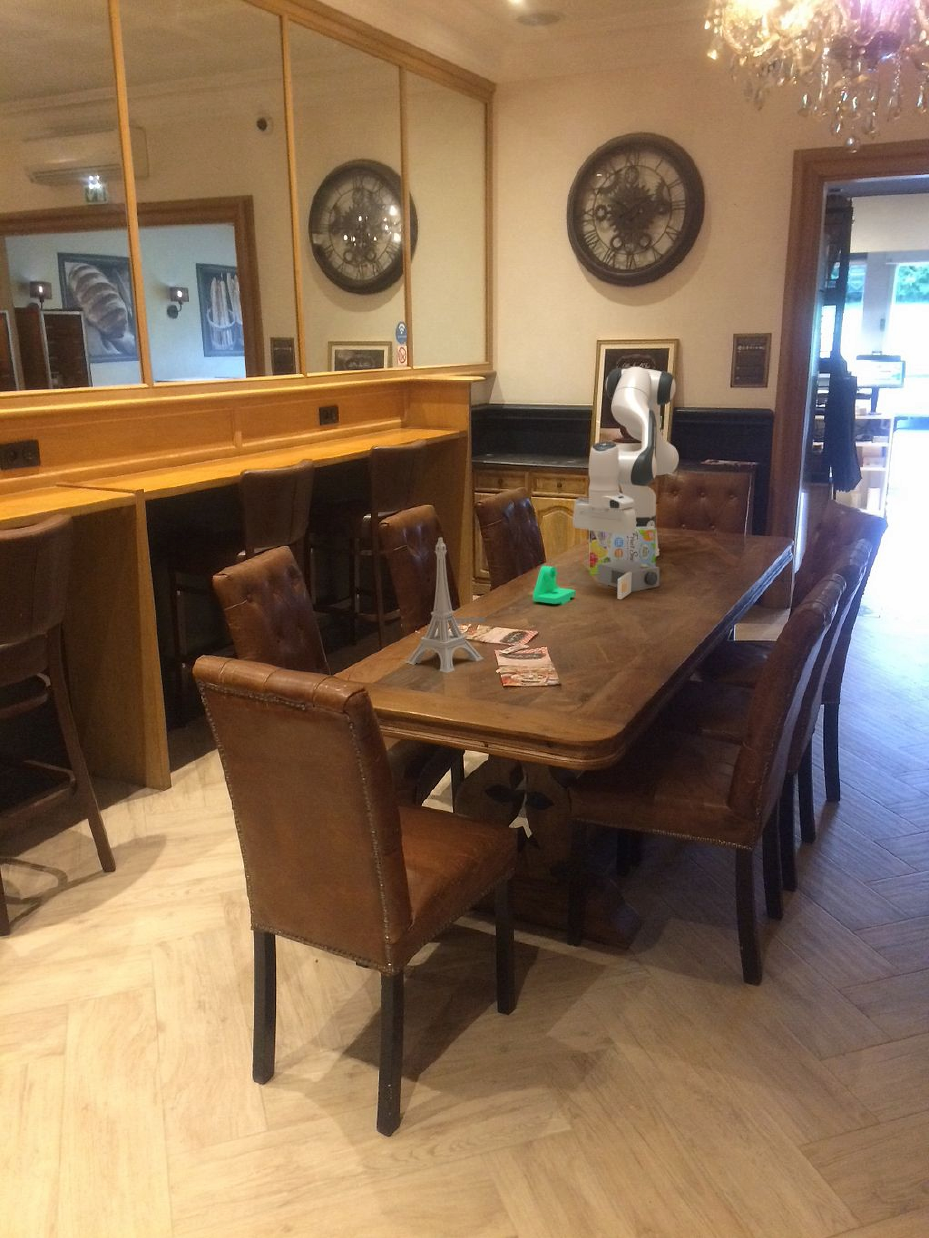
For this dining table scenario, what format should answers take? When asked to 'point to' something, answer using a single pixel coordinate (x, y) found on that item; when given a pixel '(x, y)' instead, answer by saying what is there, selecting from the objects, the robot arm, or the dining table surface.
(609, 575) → the camera case
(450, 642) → the eiffel tower
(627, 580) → the side door
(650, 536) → the snack box
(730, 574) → the dining table surface
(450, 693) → the dining table surface
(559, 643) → the dining table surface
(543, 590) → the camera mount
